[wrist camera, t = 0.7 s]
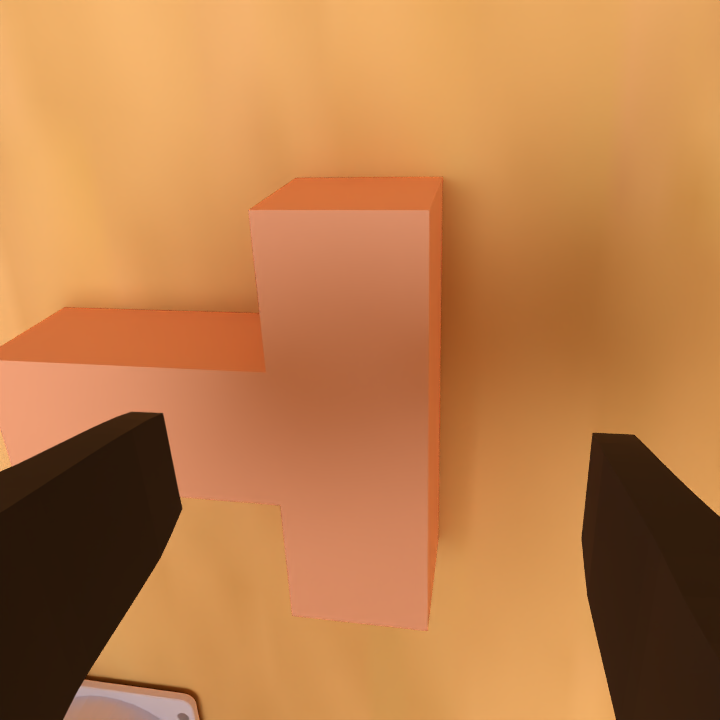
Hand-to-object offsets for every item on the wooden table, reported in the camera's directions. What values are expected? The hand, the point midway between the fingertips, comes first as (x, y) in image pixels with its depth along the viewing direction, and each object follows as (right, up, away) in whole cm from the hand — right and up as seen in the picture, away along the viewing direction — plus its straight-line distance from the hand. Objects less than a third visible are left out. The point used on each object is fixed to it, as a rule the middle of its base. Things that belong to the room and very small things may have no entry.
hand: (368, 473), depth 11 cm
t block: (-4, +2, +10) cm, 11 cm away
